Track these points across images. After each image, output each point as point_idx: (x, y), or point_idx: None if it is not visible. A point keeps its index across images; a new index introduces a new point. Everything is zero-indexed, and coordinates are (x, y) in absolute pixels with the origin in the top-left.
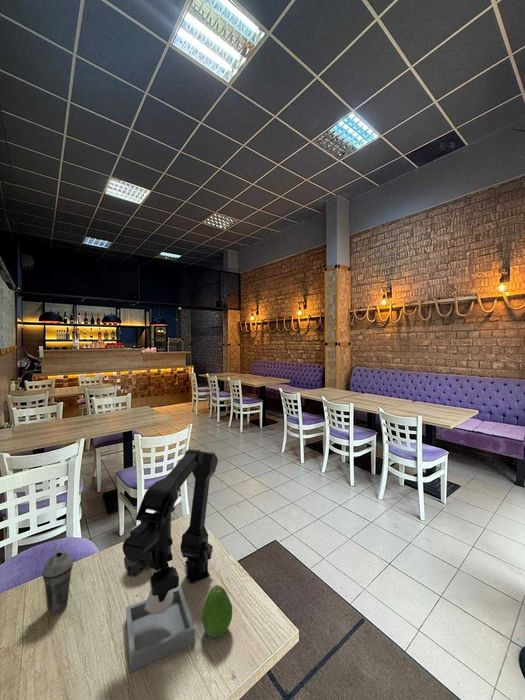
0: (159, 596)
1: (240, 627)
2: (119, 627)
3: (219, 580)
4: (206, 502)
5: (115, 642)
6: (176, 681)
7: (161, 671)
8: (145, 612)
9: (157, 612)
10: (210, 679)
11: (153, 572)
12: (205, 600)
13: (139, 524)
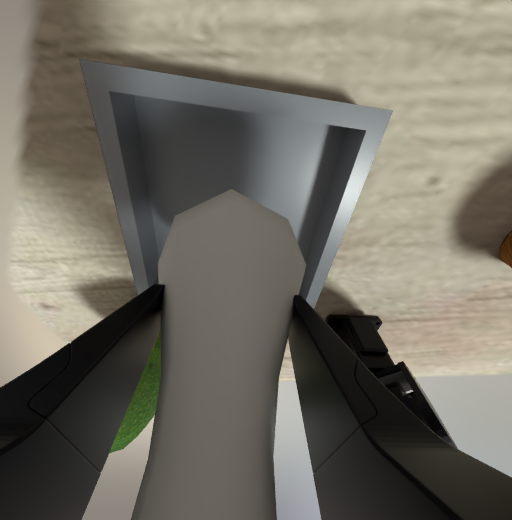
0: (114, 319)
1: None
2: (349, 72)
3: (288, 355)
4: None
5: (287, 33)
6: (54, 206)
7: (95, 177)
8: (327, 188)
9: (167, 243)
10: (46, 272)
11: (332, 381)
12: (140, 379)
13: None
